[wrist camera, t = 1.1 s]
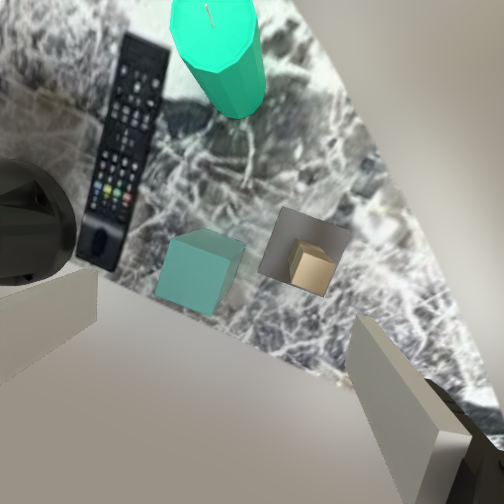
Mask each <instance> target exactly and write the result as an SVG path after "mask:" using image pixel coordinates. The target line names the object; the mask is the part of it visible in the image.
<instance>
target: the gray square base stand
mask: <svg viewBox="0 0 504 504" xmlns="http://www.w3.org/2000/svg"><path fill="white" fill-rule="evenodd" d="M351 234H352V231H349V230H346V229H344V228H341V227H338V226H335V225H333V224H330V223H327V222H324V221H322V220H319V219H316V218H314V217H311V216H308V215H305V214H303V213H300V212H297V211H294V210H292V209H289V208H286V207H283V206H282V209H281V212H280V214H279V217H278V220H277V222H276V225H275V228H274V230H273V233H272V236H271V238H270V241H269V244H268V246H267V249H266V252H265V254H264V257H263V260H262V262H261V265H260V268H259V270H258V273H260V274H263V275H265V276H268V277H271V278H273V279H276V280H278V281H281V282H284V283H286V284H289V285H292V286H294V287H297V288H300V289H302V290H305V291H308V292H310V293H313V294H315V295H318V296H321V297H324V295H325V293H326V291H327V288H328V286H329V284H330V282H331V279H332V277H333V275H334V272H335V270H336V268H337V266H338V263H339V261H340V259H341V257H342V254H343V252H344V250H345V247H346V245H347V243H348V241H349V238H350V236H351Z"/></svg>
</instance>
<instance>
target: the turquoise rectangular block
mask: <svg viewBox="0 0 504 504" xmlns="http://www.w3.org/2000/svg"><path fill="white" fill-rule="evenodd" d="M245 246H246V243H243V242H241V241H238V240H235V239H233V238H230V237H227V236H225V235H222V234H219V233H216V232H214V231H211V230H208V229H206V228H203V229H200V230H196V231H193V232H190V233H186V234H183V235H180V236H176V237H173V238H171V240H170V243H169V247H168V250H167V254H166V257H165V260H164V264H163V267H162V270H161V274H160V277H159V281H158V284H157V287H156V291H155V294H154V295H156V296H158V297H161V298H163V299H166V300H168V301H171V302H174V303H176V304H179V305H181V306H184V307H186V308H189V309H192V310H194V311H197V312H199V313H202V314H205V315H207V316H210V317H211V316H212V315H213V313H214V312H215V310H216V308H217V307H218V305H219V304H220V302H221V300H222V299H223V297H224V296H225V294H226V293H227V291H228V289H229V288H230V286H231V285H232V282H233V279H234V277H235V274H236V271H237V268H238V265H239V263H240V260H241V257H242V254H243V251H244V249H245Z"/></svg>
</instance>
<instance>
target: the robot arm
mask: <svg viewBox="0 0 504 504" xmlns="http://www.w3.org/2000/svg"><path fill="white" fill-rule="evenodd" d="M75 236H76V226H75V219H74V214H73V211H72V208H71V205H70V203H69V200H68V198H67V196H66V195H65V193H64V191H63V190H62V189H61V187H60V186H59V185H58V183H57V182H56V181H55V180H54V179H53V178H52V177H51V176H50V175H48V174H47V173H46V172H45V171H43V170H42V169H40V168H38V167H36V166H34V165H32V164H30V163H27V162H23V161H18V160H12V159H6V158H0V286H20V285H26V284H30V283H33V282H37V281H40V280H43V279H46V278H48V277H51V276H52V275H54V274H56V273H57V272H58V271H59V270H60V269H61V268H62V267H63V266H64V265H65V264H66V262H67V261H68V259H69V257H70V255H71V253H72V250H73V247H74V243H75ZM97 280H98V271H94V270H88V269H82V270H79V271H76V272H73V273H71V274H68V275H65V276H62V277H59V278H56V279H54V280H51V281H48V282H45V283H42V284H40V285H37V286H34V287H31V288H28V289H26V290H23V291H20V292H17V293H15V294H12V295H9V296H6V297H4V298H1V299H0V385H2V384H3V383H5V382H6V381H8V380H9V379H10V378H12V377H14V376H15V375H17V374H18V373H20V372H21V371H23V370H24V369H26V368H27V367H28V366H30V365H31V364H33V363H34V362H36V361H37V360H39V359H40V358H42V357H43V356H45V355H46V354H48V353H49V352H51V351H52V350H54V349H55V348H57V347H58V346H60V345H61V344H63V343H64V342H66V341H67V340H69V339H70V338H71V337H73V336H74V335H76V334H77V333H79V332H80V331H82V330H83V329H85V328H86V327H88V326H89V325H91V324H92V323H94V322H95V321H96V317H97V282H98V281H97ZM344 365H345V368H346V370H347V372H348V375H349V377H350V379H351V382H352V384H353V386H354V389H355V391H356V393H357V396H358V398H359V401H360V403H361V405H362V407H363V410H364V412H365V415H366V417H367V419H368V421H369V424H370V426H371V429H372V431H373V434H374V436H375V438H376V440H377V443H378V445H379V448H380V450H381V452H382V455H383V457H384V459H385V462H386V464H387V466H388V469H389V471H390V474H391V476H392V478H393V481H394V483H395V485H396V488H397V490H398V492H399V495H400V497H401V499H402V502H403V504H504V451H502V450H498V449H497V448H496V447H495V446H494V445H493V443H492V442H491V441H490V440H489V439H488V438H487V437H486V436H485V435H484V433H483V432H482V431H481V430H480V429H479V428H478V427H477V426H476V425H475V423H474V422H473V421H472V420H471V419H470V418H469V417H468V416H467V415H465V412H464V411H463V410H462V409H461V408H460V407H459V406H458V405H457V404H456V402H455V401H454V400H453V399H452V398H451V397H450V396H449V394H448V393H447V392H446V391H445V390H444V389H442V388H441V387H440V386H438V385H437V384H436V383H434V382H433V381H432V380H430V379H425V378H423V377H422V376H421V375H420V373H419V372H418V371H417V370H416V369H415V367H414V366H413V365H412V364H411V363H410V362H409V360H408V359H407V358H406V357H405V356H404V354H403V353H402V352H401V351H400V350H399V348H398V347H397V346H396V345H395V344H394V342H393V341H392V340H391V339H390V338H389V336H388V335H387V334H386V333H385V332H384V331H383V329H382V328H381V327H380V326H379V325H378V323H377V322H376V321H375V320H374V319H373V317H368V316H362V315H356V318H355V322H354V327H353V331H352V335H351V339H350V343H349V347H348V352H347V356H346V360H345V364H344Z"/></svg>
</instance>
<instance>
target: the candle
mask: <svg viewBox="0 0 504 504" xmlns="http://www.w3.org/2000/svg"><path fill="white" fill-rule="evenodd" d="M170 32H171V34H172V37H173V40H174V42H175V45H176V47H177V50H178V52H179V55H180V57H181V58H182V60H183V61H184V63H185V64H186V66H187V67H188V68H189V70H190V71H191V73H192V74H193V76H194V77H195V79H196V80H197V82H198V83H199V85H200V86H201V88H202V89H203V91H204V92H205V94H206V95H207V96H208V98H209V99H210V101H211V102H212V104H213V105H214V107H215V108H216V109H217V110H218V111H220V112H221V113H222V114H223V115H224V116H225V117H229V118H234V119H242V118H244V117H247V116H249V115H252V114H254V112H255V111H256V110H257V109H258V107H259V106H260V105H261V103H262V102H263V99H264V93H265V88H266V82H265V74H264V67H263V59H262V51H261V43H260V35H259V28H258V20H257V15H256V11H255V8H254V5H253V2H252V0H173V2H172V7H171V19H170Z"/></svg>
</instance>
